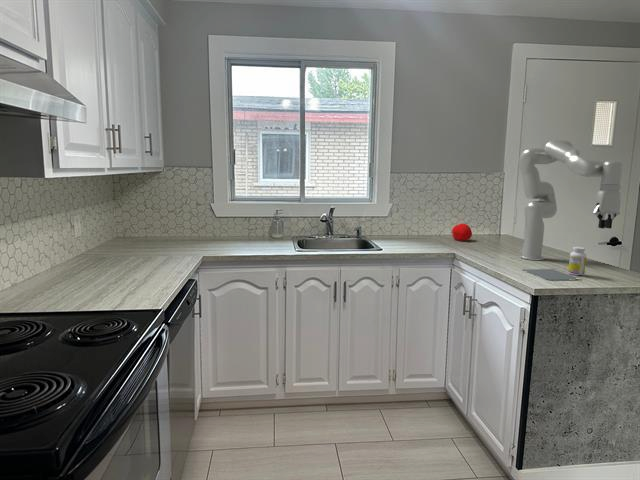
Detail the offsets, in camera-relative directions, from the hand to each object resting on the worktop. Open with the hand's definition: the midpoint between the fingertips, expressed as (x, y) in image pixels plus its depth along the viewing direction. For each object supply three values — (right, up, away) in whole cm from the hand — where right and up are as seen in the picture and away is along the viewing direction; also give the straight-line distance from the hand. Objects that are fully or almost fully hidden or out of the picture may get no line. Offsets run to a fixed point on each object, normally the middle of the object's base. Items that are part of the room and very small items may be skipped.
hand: (604, 227), depth 205 cm
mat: (-25, -22, 0) cm, 33 cm away
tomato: (-36, -6, +95) cm, 102 cm away
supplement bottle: (-12, -22, +2) cm, 25 cm away
